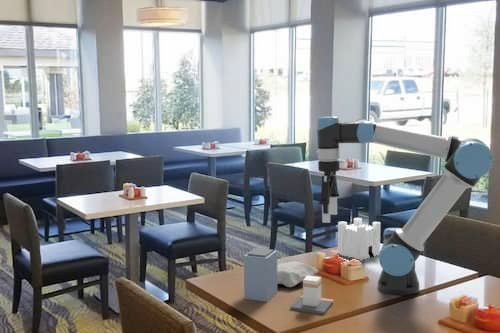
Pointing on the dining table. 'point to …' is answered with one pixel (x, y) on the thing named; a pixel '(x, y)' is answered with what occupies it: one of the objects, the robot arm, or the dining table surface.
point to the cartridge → (312, 290)
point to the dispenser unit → (260, 274)
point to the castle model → (358, 239)
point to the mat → (319, 309)
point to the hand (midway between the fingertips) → (330, 218)
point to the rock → (293, 273)
